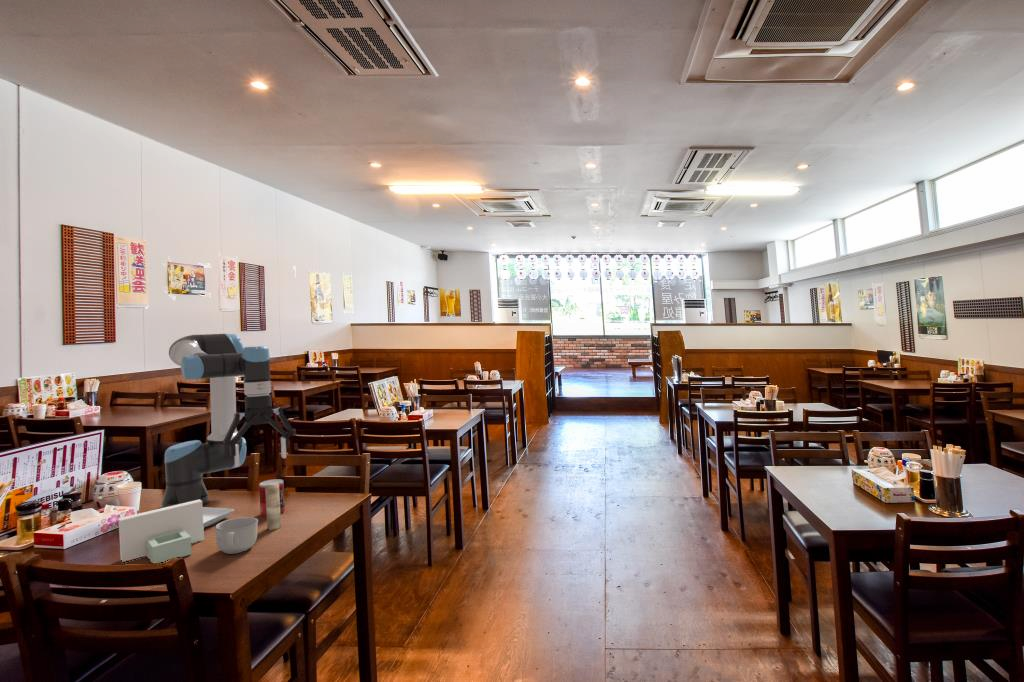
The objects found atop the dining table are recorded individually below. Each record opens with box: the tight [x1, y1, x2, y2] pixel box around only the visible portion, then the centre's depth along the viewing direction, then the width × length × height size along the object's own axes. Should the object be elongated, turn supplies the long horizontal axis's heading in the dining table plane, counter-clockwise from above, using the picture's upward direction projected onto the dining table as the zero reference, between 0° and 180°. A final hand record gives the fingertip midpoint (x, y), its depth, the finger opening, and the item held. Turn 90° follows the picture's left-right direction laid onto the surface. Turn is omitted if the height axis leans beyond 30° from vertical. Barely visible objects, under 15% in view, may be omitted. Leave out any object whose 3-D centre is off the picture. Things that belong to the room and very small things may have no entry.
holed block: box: [146, 529, 193, 564], centre depth 141 cm, size 9×9×5 cm
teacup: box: [215, 516, 259, 555], centre depth 142 cm, size 14×11×8 cm
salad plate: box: [203, 506, 235, 529], centre depth 164 cm, size 21×21×3 cm
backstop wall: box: [118, 499, 205, 563], centre depth 146 cm, size 3×20×12 cm, turn 136°
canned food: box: [258, 478, 286, 517], centre depth 174 cm, size 8×8×11 cm
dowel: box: [265, 483, 282, 531], centre depth 160 cm, size 4×4×14 cm
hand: (261, 461), depth 157 cm, fingers open, 13 cm apart
